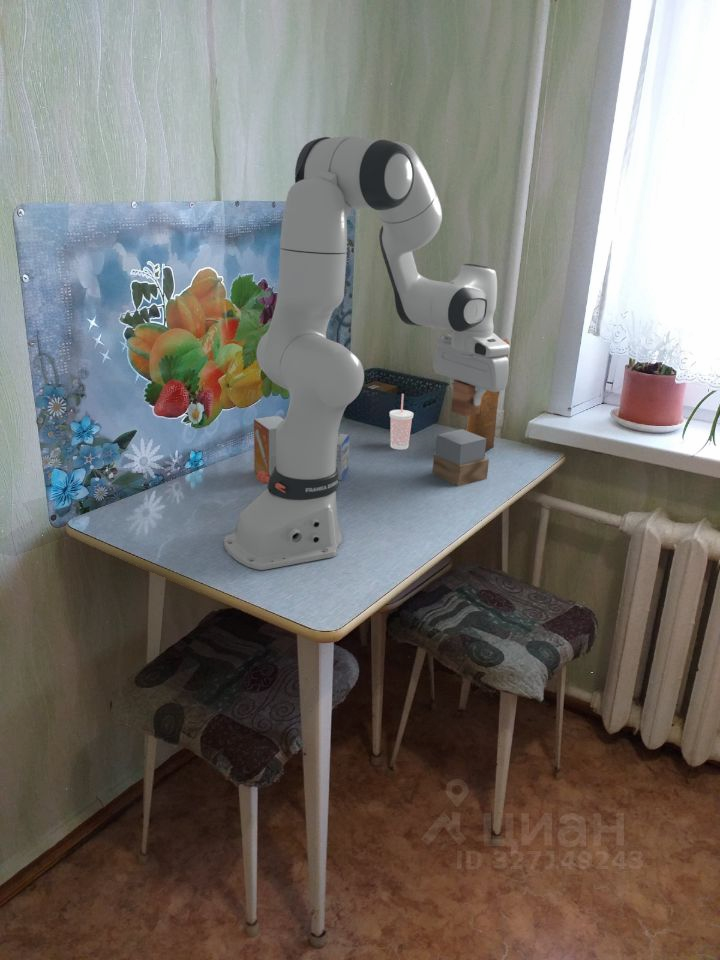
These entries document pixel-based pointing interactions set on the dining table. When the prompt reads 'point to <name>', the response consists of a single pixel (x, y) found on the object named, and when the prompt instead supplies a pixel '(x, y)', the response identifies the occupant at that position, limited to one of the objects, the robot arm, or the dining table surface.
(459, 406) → the cherry block
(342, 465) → the medicine box
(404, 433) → the beverage cup
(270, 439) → the small box
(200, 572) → the dining table surface
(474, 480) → the tower base
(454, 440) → the tower top
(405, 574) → the dining table surface
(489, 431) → the pancake mix bag
